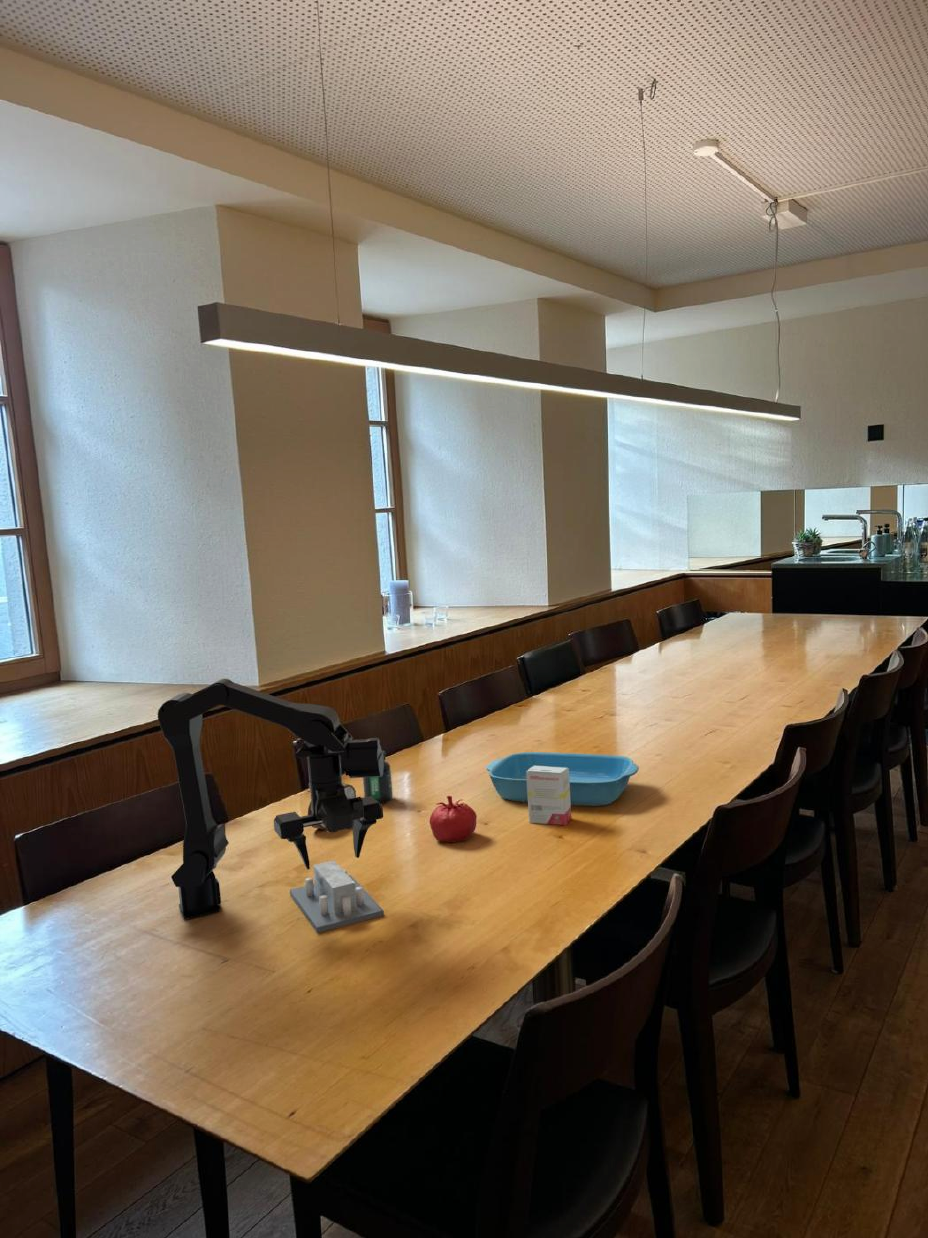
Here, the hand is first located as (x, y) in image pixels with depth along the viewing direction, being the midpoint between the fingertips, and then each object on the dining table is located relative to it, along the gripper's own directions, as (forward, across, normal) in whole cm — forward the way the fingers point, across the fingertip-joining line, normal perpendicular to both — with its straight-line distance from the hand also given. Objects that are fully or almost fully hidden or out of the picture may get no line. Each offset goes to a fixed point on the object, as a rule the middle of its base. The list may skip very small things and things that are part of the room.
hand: (332, 863), depth 164 cm
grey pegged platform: (+8, 0, 0) cm, 8 cm away
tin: (+8, +13, +42) cm, 45 cm away
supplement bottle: (+8, +27, +51) cm, 58 cm away
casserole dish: (+8, +66, +30) cm, 73 cm away
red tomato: (+8, +32, +18) cm, 37 cm away
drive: (+7, 0, 0) cm, 7 cm away
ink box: (+8, +54, +15) cm, 56 cm away
